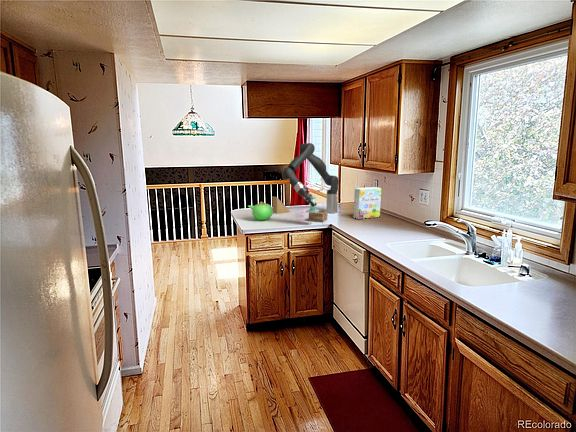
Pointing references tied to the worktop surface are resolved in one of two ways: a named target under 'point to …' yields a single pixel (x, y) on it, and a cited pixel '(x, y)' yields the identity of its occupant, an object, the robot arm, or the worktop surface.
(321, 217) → the walnut box
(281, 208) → the sandwich container
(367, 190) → the snack box
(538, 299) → the worktop surface
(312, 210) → the teal piece
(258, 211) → the green teapot
